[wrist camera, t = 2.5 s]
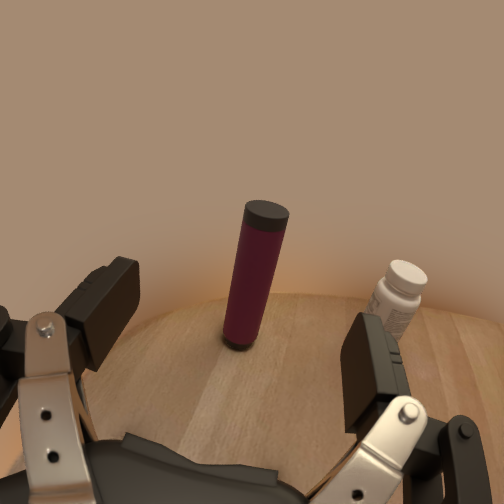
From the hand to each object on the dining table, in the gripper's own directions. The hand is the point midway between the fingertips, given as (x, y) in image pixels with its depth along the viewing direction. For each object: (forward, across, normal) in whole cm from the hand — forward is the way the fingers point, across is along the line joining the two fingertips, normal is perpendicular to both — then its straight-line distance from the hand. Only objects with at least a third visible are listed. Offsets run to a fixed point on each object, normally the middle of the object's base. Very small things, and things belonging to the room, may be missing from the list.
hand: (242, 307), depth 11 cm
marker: (+11, 0, +13) cm, 17 cm away
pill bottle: (+15, -14, +13) cm, 24 cm away
